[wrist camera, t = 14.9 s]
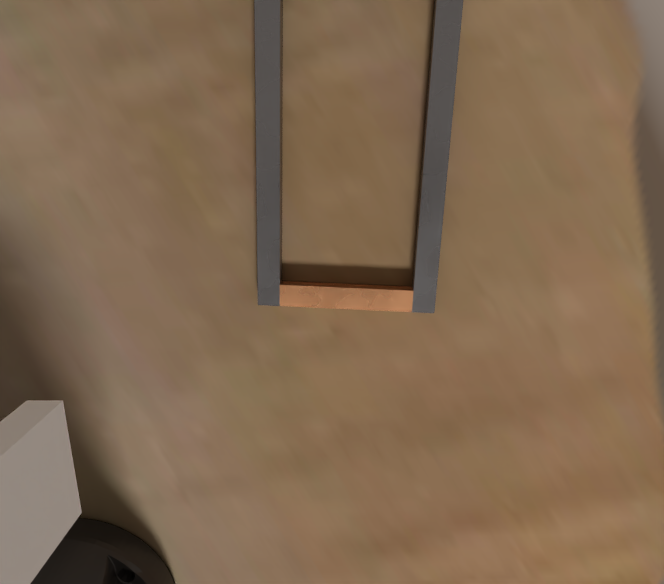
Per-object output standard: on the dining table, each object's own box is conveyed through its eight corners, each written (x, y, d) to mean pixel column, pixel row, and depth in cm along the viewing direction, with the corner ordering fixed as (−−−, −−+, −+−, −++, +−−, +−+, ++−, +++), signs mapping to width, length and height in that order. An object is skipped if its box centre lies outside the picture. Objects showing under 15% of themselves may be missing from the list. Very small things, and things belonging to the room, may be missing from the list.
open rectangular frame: (260, 300, 37) (257, 304, 36) (255, -187, 28) (252, -198, 27) (432, 308, 36) (434, 313, 35) (477, -186, 28) (481, -197, 27)
